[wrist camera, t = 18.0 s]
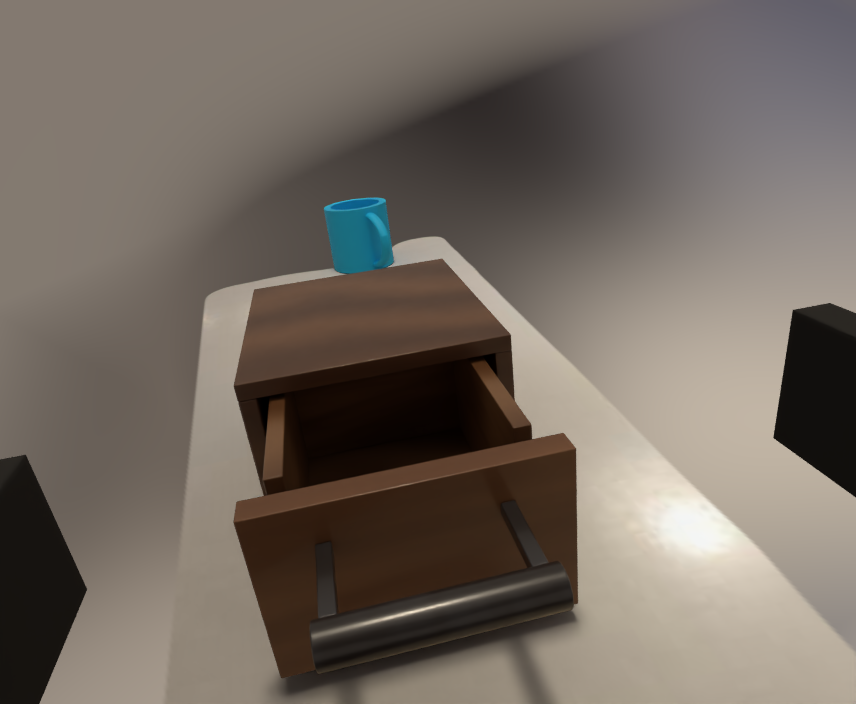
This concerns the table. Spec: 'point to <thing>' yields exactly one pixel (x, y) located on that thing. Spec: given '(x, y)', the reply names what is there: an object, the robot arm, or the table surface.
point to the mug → (359, 235)
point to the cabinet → (360, 335)
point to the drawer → (406, 517)
